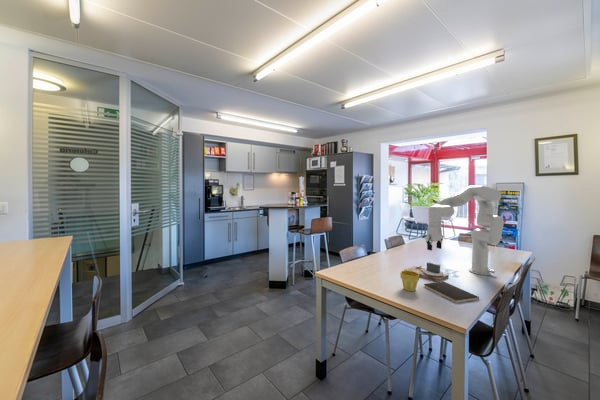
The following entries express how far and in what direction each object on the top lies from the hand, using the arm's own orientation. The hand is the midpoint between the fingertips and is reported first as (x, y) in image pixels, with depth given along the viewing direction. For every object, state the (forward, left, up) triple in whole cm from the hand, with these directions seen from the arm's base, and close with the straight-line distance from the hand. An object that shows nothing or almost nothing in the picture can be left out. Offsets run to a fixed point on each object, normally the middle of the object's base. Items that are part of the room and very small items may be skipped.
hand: (434, 249), depth 171 cm
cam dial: (+2, 0, -17) cm, 17 cm away
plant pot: (-1, +33, -19) cm, 39 cm away
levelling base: (+5, 0, -19) cm, 20 cm away
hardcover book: (-18, +20, -20) cm, 33 cm away
